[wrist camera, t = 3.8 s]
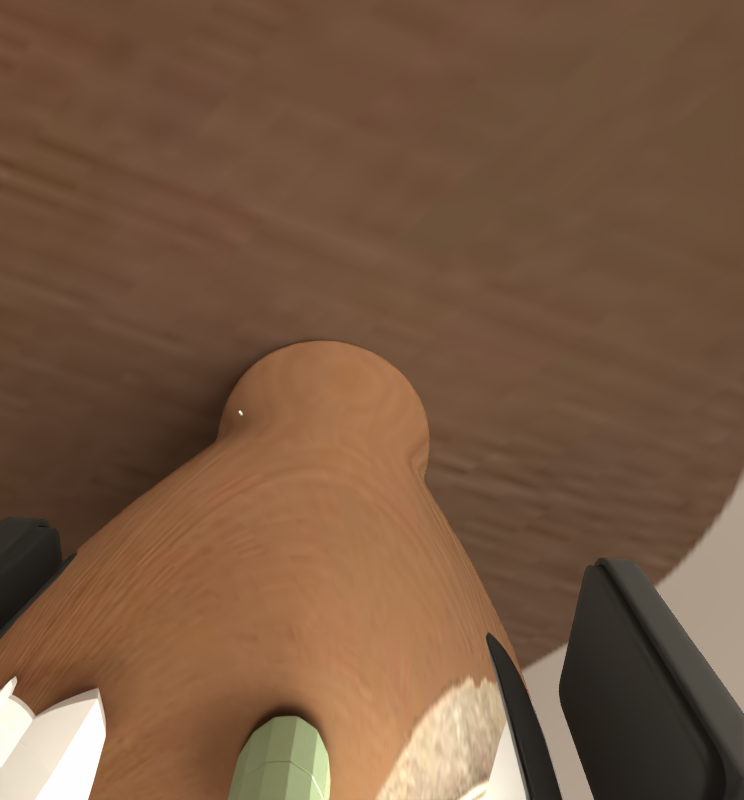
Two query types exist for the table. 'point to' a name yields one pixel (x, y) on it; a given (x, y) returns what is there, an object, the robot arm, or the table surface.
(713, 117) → the table surface
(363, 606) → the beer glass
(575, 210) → the table surface
